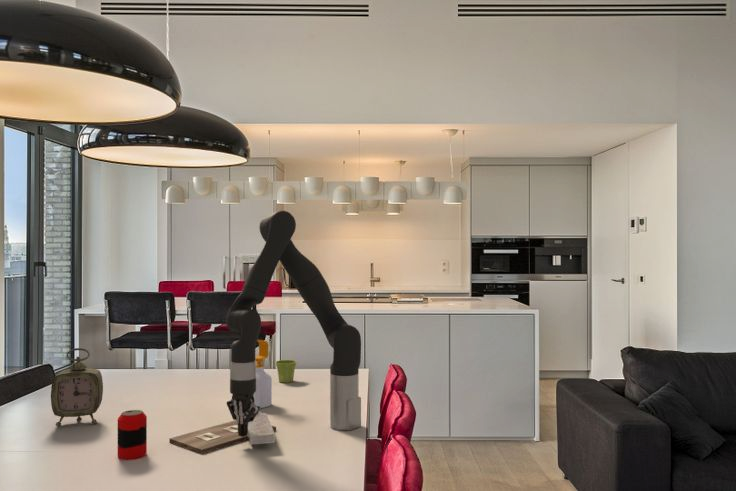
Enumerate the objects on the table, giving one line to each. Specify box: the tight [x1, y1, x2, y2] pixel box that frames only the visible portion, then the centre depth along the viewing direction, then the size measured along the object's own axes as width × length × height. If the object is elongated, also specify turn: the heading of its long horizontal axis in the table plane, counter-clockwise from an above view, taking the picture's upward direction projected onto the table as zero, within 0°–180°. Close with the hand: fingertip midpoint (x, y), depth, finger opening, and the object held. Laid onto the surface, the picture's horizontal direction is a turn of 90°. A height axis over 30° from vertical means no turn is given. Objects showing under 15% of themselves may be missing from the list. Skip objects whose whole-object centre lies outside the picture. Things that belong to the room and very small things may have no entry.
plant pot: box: [275, 359, 298, 384], centre depth 261 cm, size 9×9×9 cm
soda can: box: [117, 409, 148, 461], centre depth 167 cm, size 8×8×12 cm
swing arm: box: [245, 411, 276, 446], centre depth 182 cm, size 7×26×3 cm, turn 16°
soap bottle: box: [253, 339, 273, 409], centre depth 220 cm, size 9×9×25 cm
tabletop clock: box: [50, 347, 104, 428], centre depth 198 cm, size 14×9×25 cm, turn 105°
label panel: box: [168, 420, 277, 455], centre depth 184 cm, size 16×28×2 cm, turn 141°
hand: (242, 435), depth 175 cm, fingers closed
